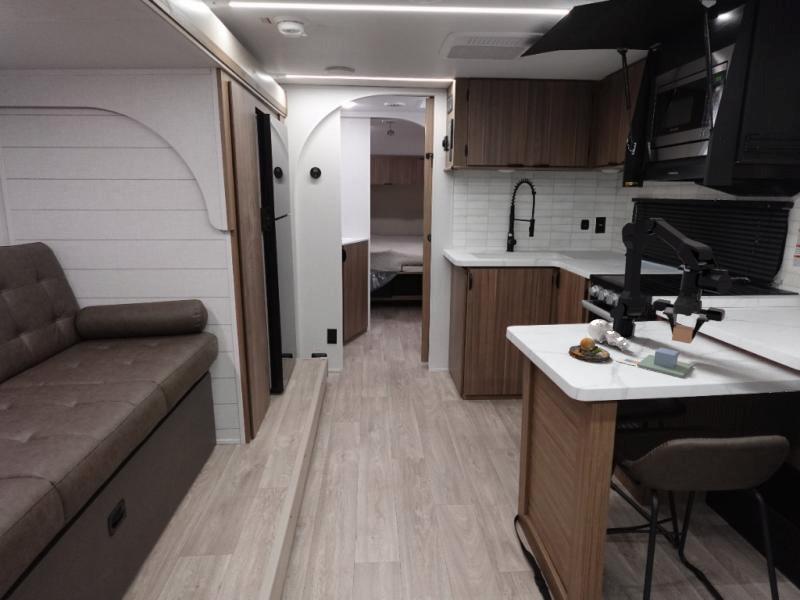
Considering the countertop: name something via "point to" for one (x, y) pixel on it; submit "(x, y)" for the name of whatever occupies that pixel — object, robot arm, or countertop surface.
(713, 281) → the robot arm
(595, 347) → the food on plate
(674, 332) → the brick orange
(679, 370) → the build plate
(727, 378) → the countertop surface
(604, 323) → the figurine
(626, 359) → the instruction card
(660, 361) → the brick blue
